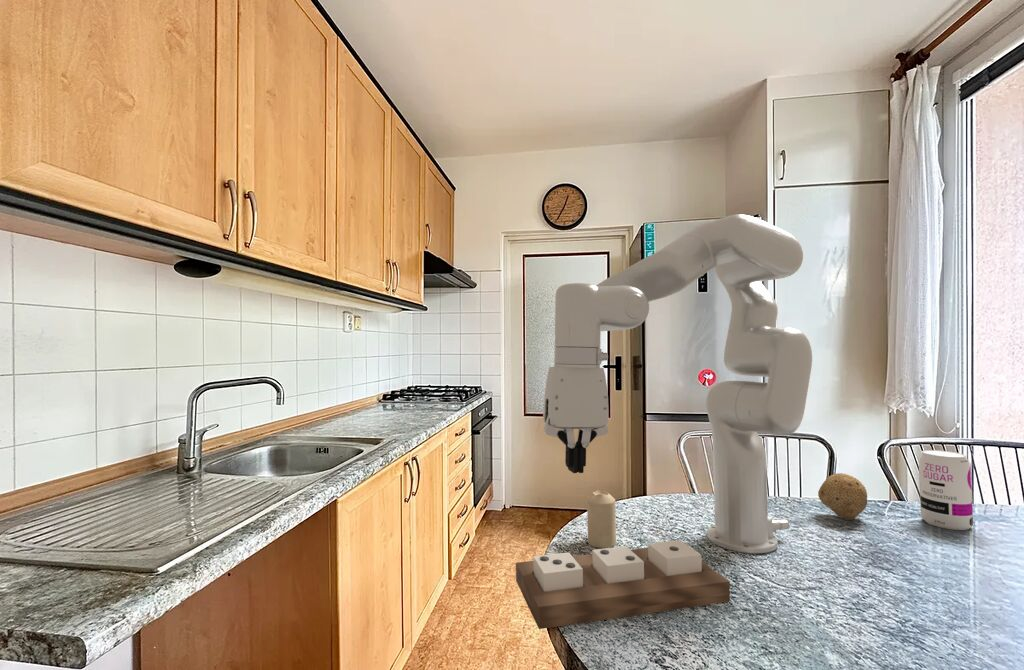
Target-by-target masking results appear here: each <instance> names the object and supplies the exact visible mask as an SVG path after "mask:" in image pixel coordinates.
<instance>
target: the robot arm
mask: <svg viewBox="0 0 1024 670" xmlns="http://www.w3.org/2000/svg"><path fill="white" fill-rule="evenodd" d="M803 259H804V252H803V248H802V246H801V244H800V242H799V240H798V239H797V238H796V237H795V236H793V235H792V234H791V233H790V232H787V231H786V230H784V229H781V228H779V227H777V226H775V225H772V224H770V223H768V222H766V221H765V220H762V219H759V218H757V217H754V216H751V215H747V214H743V213H742V214H739V213H738V214H737V213H735V214H731V215H728V216H725V217H722V218H718V219H715V220H712V221H708V222H704V223H702V224H700V225H698V226H695V227H693V228H692V229H690V230H688V231H687V232H685V233H684V234H682V235H681V236H679V237H678V238H676V239H675V240H674V241H671V243H669V244H667V245H666V246H664V247H662V248H661V249H659V250H657V251H656V252H654V253H653V254H650V255H649V256H646V257H645V258H642V259H640V260H639V261H637V262H636V263H634V264H632V265H630V266H628V267H626V268H625V269H623V270H621V271H618V272H617V273H615V274H613V275H611V276H610V277H607V278H606V279H604V280H602V281H601V282H599V283H598V284H597V285H595V284H593V283H592V284H591V283H584V282H583V283H582V282H574V283H565V284H562V285H560V286H558V288H557V289H556V291H555V298H554V299H555V302H554V304H555V307H554V309H555V310H554V353H553V354H554V359H553V363H554V365H553V366H549V367H548V371H547V376H546V382H545V388H544V389H545V390H544V397H543V398H544V399H543V410H542V411H543V412H542V416H543V417H542V418H543V422H544V423H545V424H544V428H543V433H544V434H545V435H548V436H551V437H555V438H558V439H559V440H560V441H561V442H562V443H563V445H565V460H564V461H565V466H566V467H567V470H568V471H570V472H571V473H573V474H578V473H579V474H583V473H584V469H585V468H584V467H586V466H587V465H586V464H587V448H588V447H589V446H590V444H591V443H592V442H593V440H595V438H596V437H600V436H604V435H608V433H609V429H608V423H609V417H610V416H609V414H610V413H609V412H610V411H609V395H608V393H609V392H608V385H607V384H608V383H607V378H606V374H605V369H604V367H601V365H602V362H603V361H608V359H609V355H608V352H604V351H602V348H601V335H602V334H601V333H602V332H609V331H613V332H615V331H627V330H632V329H634V328H635V329H636V328H637V327H639V326H640V325H642V324H643V323H644V322H645V320H646V319H647V318H648V315H649V311H650V304H649V302H652V301H656V300H661V299H664V298H668V297H669V296H673V295H674V294H675V295H676V293H679V292H682V291H683V290H684V289H686V288H687V287H689V286H690V285H691V284H692V283H694V282H695V281H697V280H699V279H700V278H701V277H703V276H704V275H705V274H706V273H708V272H709V271H711V270H712V269H714V271H715V274H716V276H717V278H718V279H719V281H720V282H721V284H722V285H723V287H724V289H725V290H726V292H727V294H728V297H729V299H730V303H731V312H730V320H729V325H728V330H727V335H726V340H725V341H726V342H725V346H724V351H723V352H724V353H723V363H724V365H725V368H726V369H727V370H728V371H729V372H731V373H733V374H735V375H739V376H748V377H762V378H763V377H767V378H768V379H767V382H759V381H751V380H750V381H748V380H747V381H746V380H726V381H720V382H718V383H716V384H715V385H713V386H712V387H711V388H710V389H709V391H708V393H707V394H706V395H707V396H706V404H705V407H706V412H707V417H708V420H709V425H710V430H711V438H712V457H713V461H712V462H713V463H712V464H713V494H714V497H713V498H714V500H713V501H714V524H713V525H711V526H709V527H708V528H707V529H706V536H707V539H708V540H709V541H710V542H711V543H713V544H715V545H716V546H719V547H720V548H723V549H727V550H730V551H733V552H738V553H745V554H746V553H747V554H766V553H771V552H774V551H775V550H777V549H778V547H779V545H778V544H779V542H778V538H777V537H776V536H775V535H774V533H775V532H776V531H784V530H785V531H786V530H789V528H790V523H789V521H788V520H787V519H785V518H781V519H775V520H774V519H773V517H772V516H769V514H768V513H769V511H768V509H769V508H768V507H769V506H768V483H767V482H768V479H767V478H768V477H767V476H768V475H767V473H768V472H767V454H766V450H765V446H764V443H763V441H762V439H761V437H760V435H759V433H761V434H767V435H773V436H780V437H782V436H789V435H792V434H793V433H795V432H797V430H798V429H799V428H800V426H801V423H802V420H803V418H804V414H805V409H806V404H807V397H808V392H809V385H810V379H811V372H812V365H813V351H812V345H811V343H810V341H809V339H808V338H807V336H806V335H805V333H803V332H802V331H801V330H799V329H796V328H793V327H776V326H777V320H778V313H779V312H778V305H777V302H776V300H775V298H774V297H773V295H772V294H771V292H769V290H768V289H767V288H766V286H765V285H764V283H762V282H766V281H773V280H779V279H785V278H788V277H791V276H792V275H794V274H795V273H797V272H798V270H799V269H801V266H802V264H803ZM574 430H577V436H576V439H575V432H574ZM575 440H576V441H575Z"/></svg>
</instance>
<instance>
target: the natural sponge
mask: <svg viewBox="0 0 1024 670" xmlns="http://www.w3.org/2000/svg"><path fill="white" fill-rule="evenodd" d="M817 494H818V499H819V500H820V502H821V503H822V504H823V505H825V506H826V507H828V508H829V509H830V510H831V511H832V512H833V513H834V514H835V515H836V516H837V517H839V518H840V519H843V520H845V521H850V520H851V521H852V520H855V519H856V518H857V517H858V516H859V515H860V514H861V513H862V512H864V510H865V509H866V508H867V505H868V493H867V489H866V487H865V485H864V484H863V483H862V481H860V480H859V479H857V478H856V477H854V476H852V475H850V474H847V473H840V472H839V473H834V474H831V475H829V476H828V477H827V478H826V479H825V480H824V481H823V483H822V484H821V486H820V487H819V490H818V493H817Z"/></svg>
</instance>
